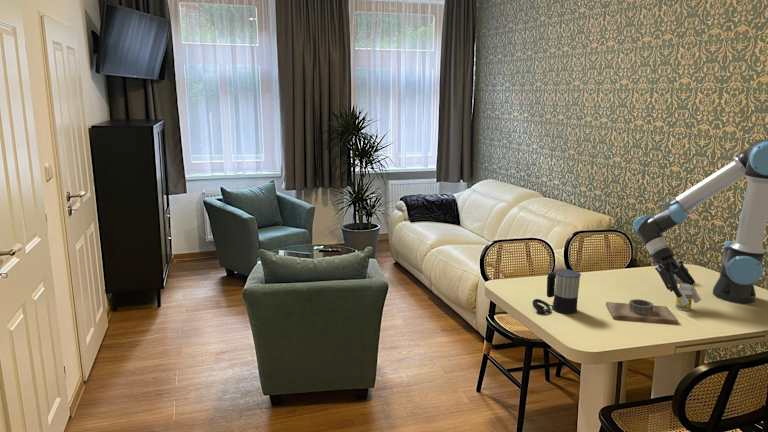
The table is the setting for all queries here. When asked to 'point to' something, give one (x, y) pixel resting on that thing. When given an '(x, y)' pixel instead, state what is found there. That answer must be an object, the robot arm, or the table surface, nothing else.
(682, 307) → the supplement bottle
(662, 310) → the collar board
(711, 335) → the table surface
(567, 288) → the milk frother
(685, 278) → the robot arm
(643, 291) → the table surface
